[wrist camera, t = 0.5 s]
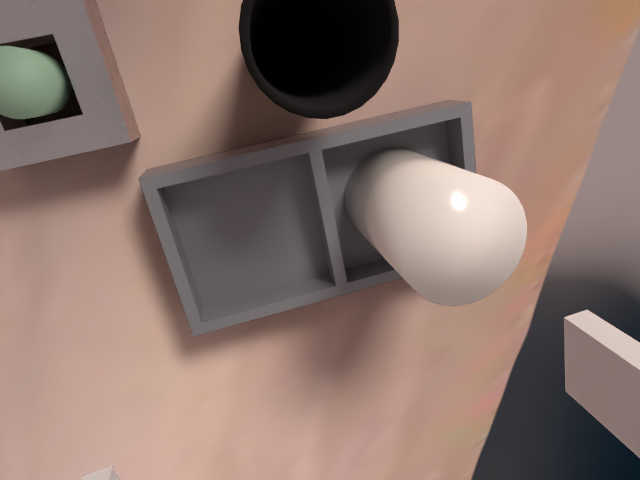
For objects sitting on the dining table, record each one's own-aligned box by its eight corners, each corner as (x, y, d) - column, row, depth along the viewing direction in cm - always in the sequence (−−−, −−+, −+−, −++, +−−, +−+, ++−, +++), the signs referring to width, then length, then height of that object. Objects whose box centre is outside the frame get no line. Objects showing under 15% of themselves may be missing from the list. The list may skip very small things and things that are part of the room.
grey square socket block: (-57, 22, 28) (-94, 14, 25) (93, -5, 29) (77, -16, 26) (7, 165, 31) (-18, 174, 28) (140, 136, 32) (131, 142, 29)
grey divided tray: (146, 169, 33) (138, 178, 30) (448, 100, 36) (471, 101, 33) (195, 314, 37) (193, 336, 34) (461, 242, 40) (482, 256, 37)
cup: (297, 128, 34) (334, 150, 23) (210, 61, 32) (205, 48, 20) (359, 42, 33) (430, 21, 22) (275, -36, 30) (307, -104, 19)
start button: (-9, 57, 27) (-40, 53, 24) (57, 44, 28) (35, 39, 24) (18, 121, 29) (-7, 125, 25) (80, 108, 29) (63, 111, 26)
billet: (336, 160, 35) (391, 195, 23) (429, 137, 36) (524, 162, 24) (353, 250, 37) (409, 321, 26) (439, 227, 38) (528, 286, 27)
